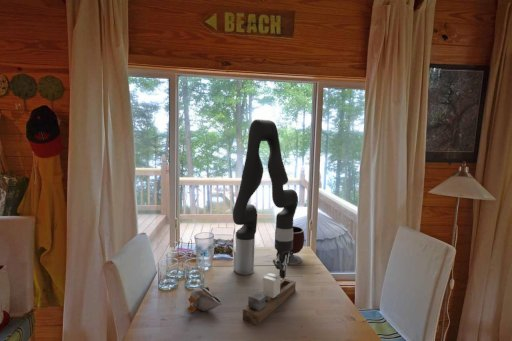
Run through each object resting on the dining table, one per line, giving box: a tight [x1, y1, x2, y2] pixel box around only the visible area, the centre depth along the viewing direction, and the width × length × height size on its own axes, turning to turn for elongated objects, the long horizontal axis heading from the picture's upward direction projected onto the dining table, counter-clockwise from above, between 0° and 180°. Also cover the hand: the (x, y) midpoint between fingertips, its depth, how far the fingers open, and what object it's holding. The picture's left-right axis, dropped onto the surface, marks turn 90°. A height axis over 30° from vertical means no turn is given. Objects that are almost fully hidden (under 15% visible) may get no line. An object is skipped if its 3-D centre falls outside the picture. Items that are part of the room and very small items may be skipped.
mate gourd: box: [289, 225, 305, 265], centre depth 160 cm, size 16×14×20 cm
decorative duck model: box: [187, 286, 222, 314], centre depth 114 cm, size 15×8×15 cm
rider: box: [262, 272, 281, 301], centre depth 116 cm, size 5×5×9 cm
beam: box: [242, 277, 297, 326], centre depth 117 cm, size 6×30×8 cm, turn 146°
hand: (282, 277), depth 123 cm, fingers closed
